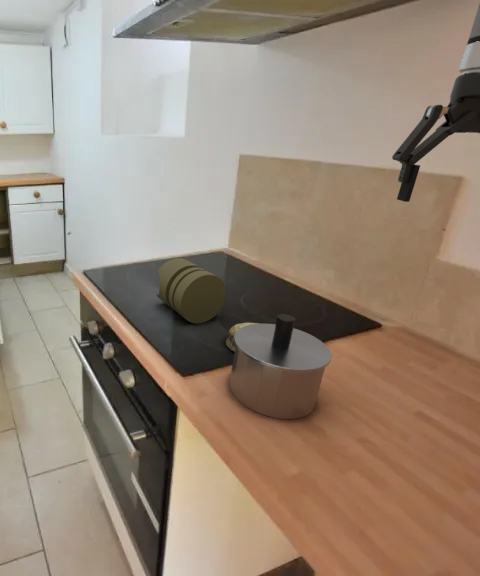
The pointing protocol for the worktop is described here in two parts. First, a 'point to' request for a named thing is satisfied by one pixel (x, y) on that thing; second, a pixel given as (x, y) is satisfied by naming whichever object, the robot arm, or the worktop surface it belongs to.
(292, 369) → the pot lid
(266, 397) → the pot
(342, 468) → the worktop surface
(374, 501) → the worktop surface
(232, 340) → the cake
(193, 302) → the piston
